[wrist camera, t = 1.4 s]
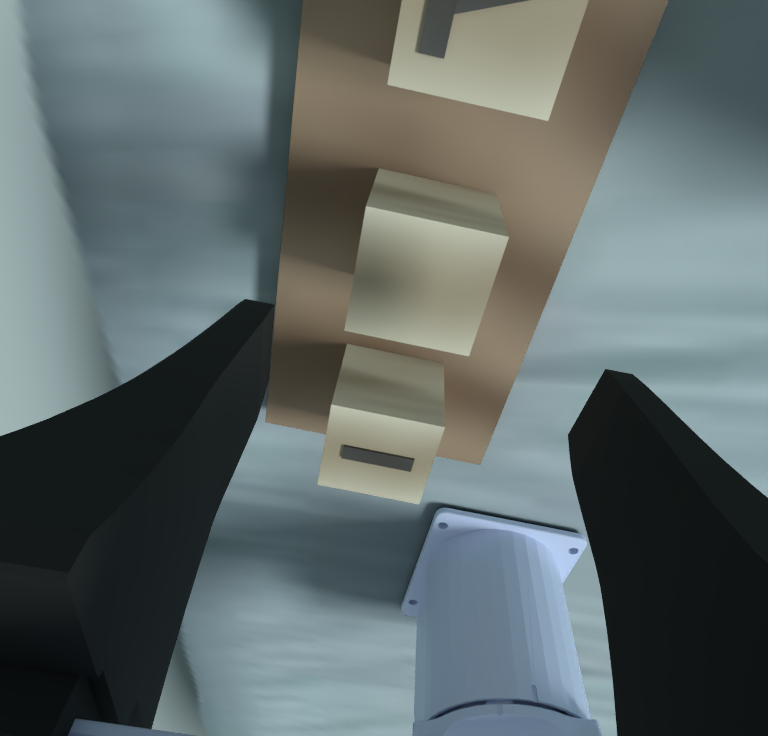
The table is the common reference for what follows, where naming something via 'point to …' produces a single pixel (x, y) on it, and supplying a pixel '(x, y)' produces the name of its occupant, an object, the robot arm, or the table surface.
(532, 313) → the walnut board
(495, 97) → the letter t cube
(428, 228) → the plain block
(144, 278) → the table surface
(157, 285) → the table surface
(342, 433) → the block one
